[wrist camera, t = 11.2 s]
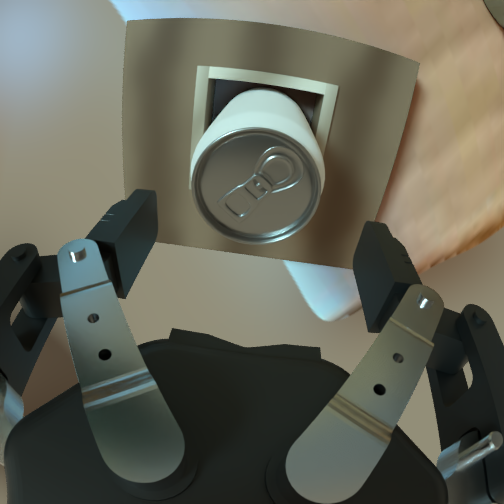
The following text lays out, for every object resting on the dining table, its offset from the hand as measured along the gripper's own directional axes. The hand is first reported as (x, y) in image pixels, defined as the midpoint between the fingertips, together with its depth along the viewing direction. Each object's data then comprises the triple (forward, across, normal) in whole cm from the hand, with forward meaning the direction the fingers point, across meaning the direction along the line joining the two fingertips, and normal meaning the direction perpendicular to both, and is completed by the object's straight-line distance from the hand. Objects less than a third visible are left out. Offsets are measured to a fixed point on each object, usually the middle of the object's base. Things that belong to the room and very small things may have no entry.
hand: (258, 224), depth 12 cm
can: (+14, 0, 0) cm, 14 cm away
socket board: (+14, +1, 0) cm, 14 cm away
